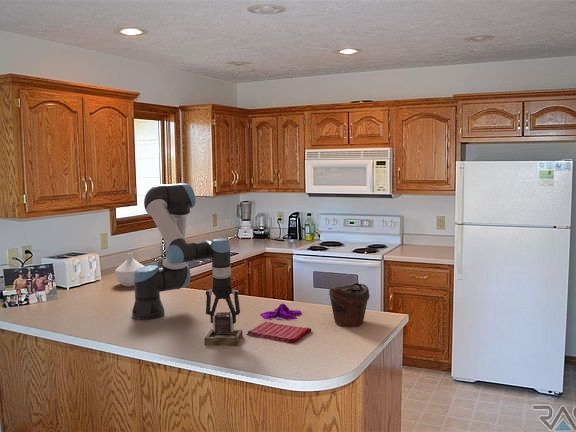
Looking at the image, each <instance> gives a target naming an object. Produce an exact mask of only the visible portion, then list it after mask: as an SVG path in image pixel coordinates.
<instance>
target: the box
mask: <svg viewBox="0 0 576 432" xmlns="http://www.w3.org/2000/svg"><path fill="white" fill-rule="evenodd" d="M215 314H216V334H223V333H231V322H230V316H231V315H232V314H231V311H223V312H222V311H221V312H215Z"/></svg>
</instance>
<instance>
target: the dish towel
mask: <svg viewBox="0 0 576 432" xmlns="http://www.w3.org/2000/svg"><path fill="white" fill-rule="evenodd" d="M311 332H312V329H311V328H310V327H304V326H303V327H302V326H296V325H288V324H281V323H276V322H275V323H274V322H271V321H264V322H263V323H261V324H260V325H258V326H256V327H253V329H250V330H248V331H247V333H246V336H251V337H255V338H260V339H263V340H264V339H265V340H270V341H275V342H280V343H287V344H294V343H296V342H298V341H299V340H300V339H302V338H303V337H305V336H307V335H308V334H310V333H311Z"/></svg>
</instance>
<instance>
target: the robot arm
mask: <svg viewBox="0 0 576 432" xmlns="http://www.w3.org/2000/svg"><path fill="white" fill-rule="evenodd" d="M196 202H197V201H196V194H195V192H194V189H193V187H192V186H191V185H190V184H189V183H181V182H180V183H172V184H171V183H169V184H156V185H154V186H151V188H150V189H148V191H147V192H146V193H145V195H144V200H143V205H144V209H145V212H146V214H147V215H148V216H149V217H151V218H152V220H153V221H154V224H155V225H156V228H157V229H158V231H159V232H160V235H161V236H162V238H163V240H164V243H165V244H166V250H165V260H163V262H162V265H161V267H159V266H158V265H155V264H151V265H144V266H145V267H141V268H139V269H137V270H136V271H135V272H134V286H133V287H134V298H135V299H134V304H133V307H132V310H131V312H132V313H131V315H132V318H133V319H136V320H152V319H153V320H154V319H156V318H157V319H158V318H160V317H163V316H164V315H165V307H164V305H163V302H162V300H161V292H168V291H174V290H180V289H183V288H186V287H187V286H188V285H189V283H190V281H191V269H190V267H189V265H188V264H187V263H189V262H197V261H198V262H199V261H204V260H205V261H206V260H210V261H211V267H212V268H211V270H212V271H211V272H212V273H211V274H212V289H207V290H206V291H205V296H206V303H205V305H206V306H205V314H206V315H208V316H210V317H209V318H210V323H211V324H212V327H213V328H212V329H213V332H215V331H216V309H217V306H218V303H219V300H225V301H226V303H227V306H228V308H229V312H231V316H230V322H231V332H233V331H234V329H235V324H236V323H237V316H239V315H240V314H241V307H240V299H239V295H240V294H239V293H240V290H238V289H237V290H236V289H233V287H232V277H231V275H232V272H231V271H232V269H231V267H232V266H231V244H230V243H231V242H230V240H229V239H228V238H224V237H223V238H221V237H220V238H213V239H212V240H210V239H203V240H201V241H198V242H191V243H190V242H188V243H187V241H186V228H187V216H188V215H189V214H191V209H193V208H194V207H195V205H196ZM212 294H213V295H214V302H213V305H212V308H211V303H212V300H211V299H212ZM231 294H232V295H233V300H234V304H233V301H232V299H231Z"/></svg>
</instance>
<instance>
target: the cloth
mask: <svg viewBox="0 0 576 432" xmlns="http://www.w3.org/2000/svg"><path fill="white" fill-rule="evenodd" d="M259 316H261V317H262V318H263V319H264V320H270V319H274V318H276V319H275V320H278V321H283V320H298V319H299V318H298V317H296V316H302V311H301V310H297V309H296V310H295V309H294V310H293V309H290V308H289V306H287V305H286V304H285V303H282V302H281V303H280V304H279V306H278V307H277V308H274V310H273V311H272V310H270V311H263V312H261V313H260V314H259Z"/></svg>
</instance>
